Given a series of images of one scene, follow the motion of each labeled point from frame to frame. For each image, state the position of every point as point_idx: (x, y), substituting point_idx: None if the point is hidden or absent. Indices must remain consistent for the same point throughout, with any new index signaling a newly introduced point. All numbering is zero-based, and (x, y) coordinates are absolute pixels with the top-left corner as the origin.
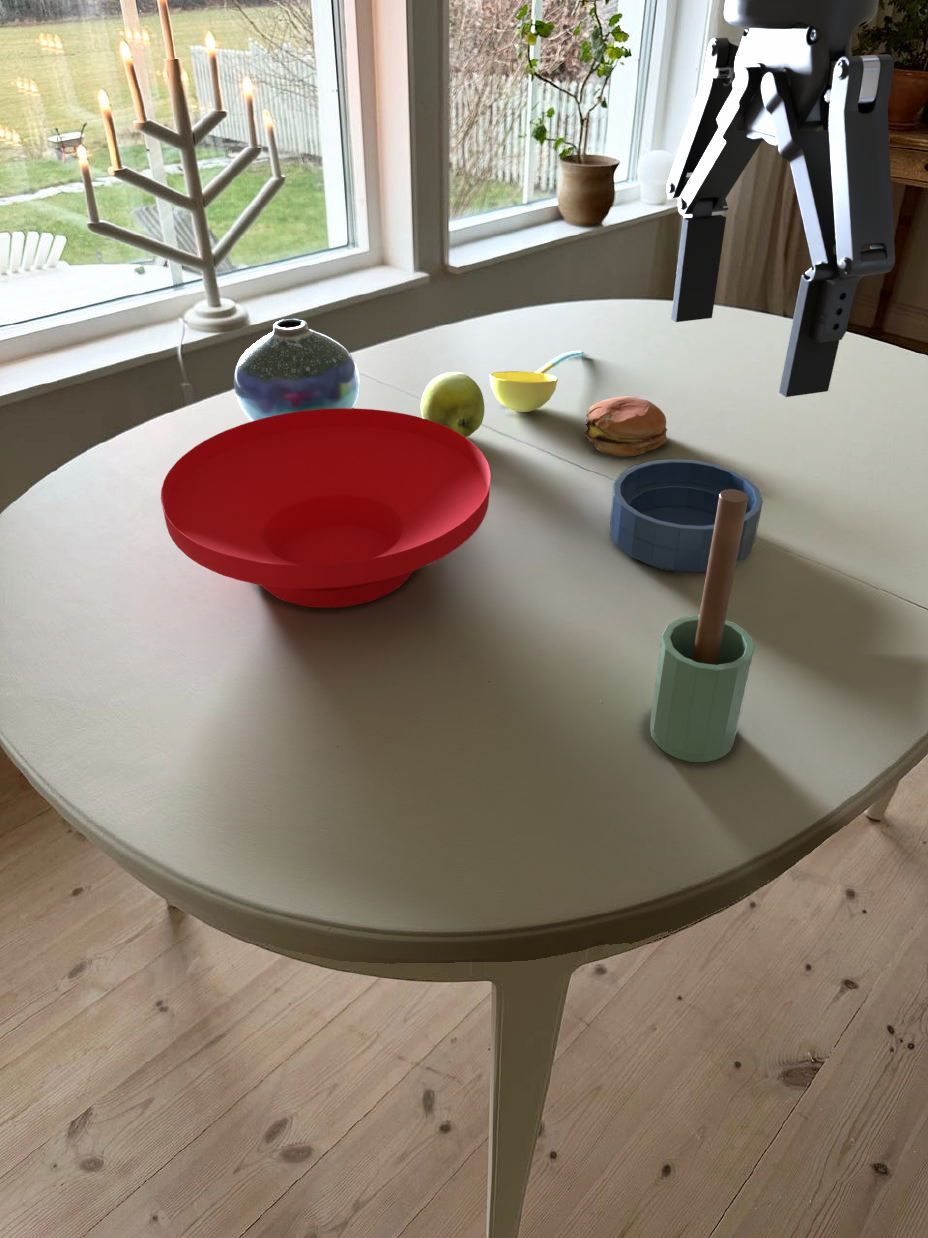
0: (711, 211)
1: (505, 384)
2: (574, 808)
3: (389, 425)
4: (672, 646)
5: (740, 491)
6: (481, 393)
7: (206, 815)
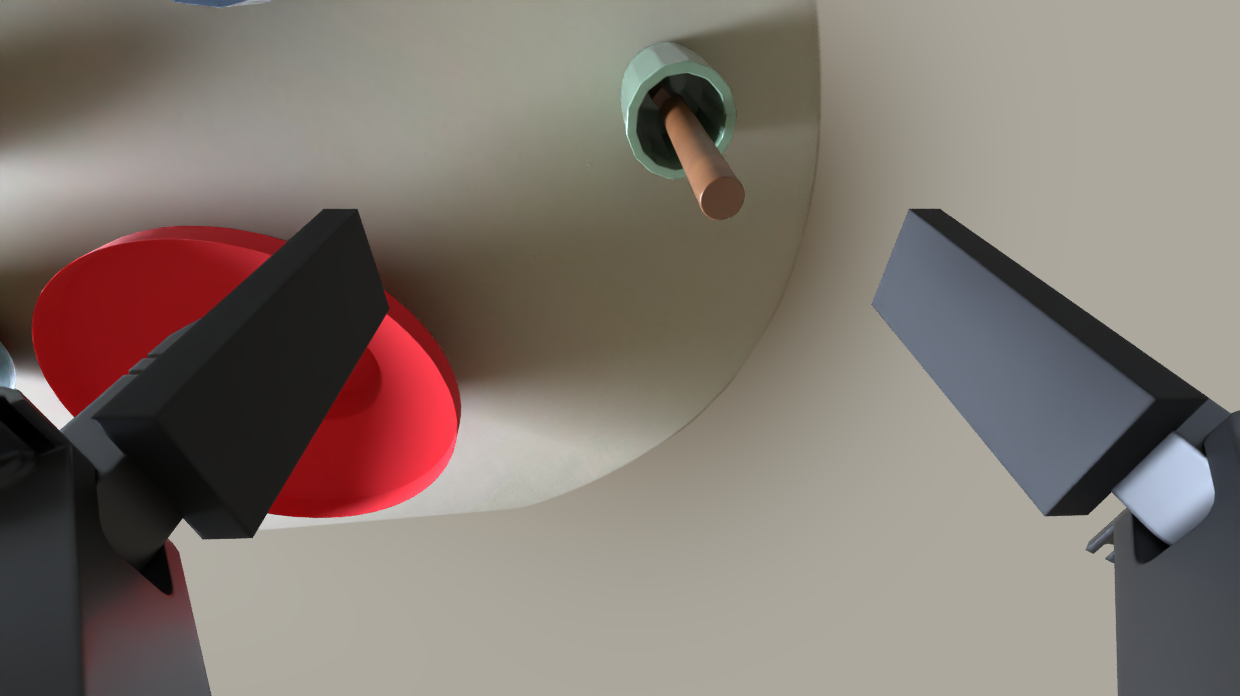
0: (114, 471)
1: None
2: (705, 238)
3: (54, 316)
4: (674, 171)
5: (716, 183)
6: None
7: (621, 434)
